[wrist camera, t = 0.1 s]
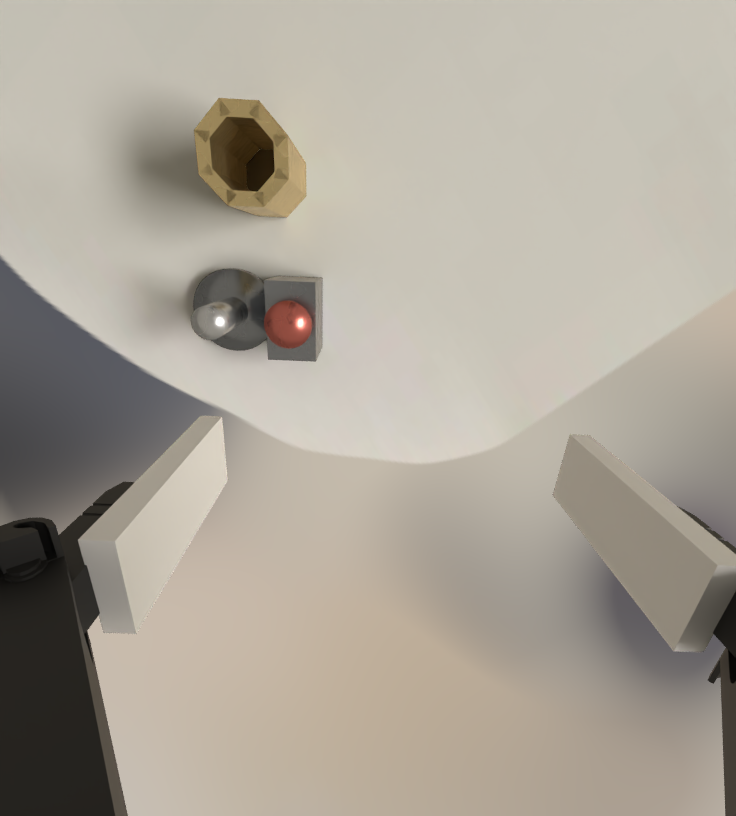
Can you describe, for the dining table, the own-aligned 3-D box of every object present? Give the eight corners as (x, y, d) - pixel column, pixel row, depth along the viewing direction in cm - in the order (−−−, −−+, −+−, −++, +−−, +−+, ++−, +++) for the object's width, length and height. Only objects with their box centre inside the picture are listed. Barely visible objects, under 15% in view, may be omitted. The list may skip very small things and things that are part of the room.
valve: (193, 266, 38) (151, 270, 31) (322, 272, 39) (312, 277, 31) (203, 346, 41) (166, 367, 34) (322, 351, 42) (313, 373, 34)
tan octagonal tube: (232, 134, 34) (190, 96, 26) (305, 138, 34) (286, 102, 26) (238, 215, 37) (201, 204, 28) (306, 218, 37) (289, 208, 28)
